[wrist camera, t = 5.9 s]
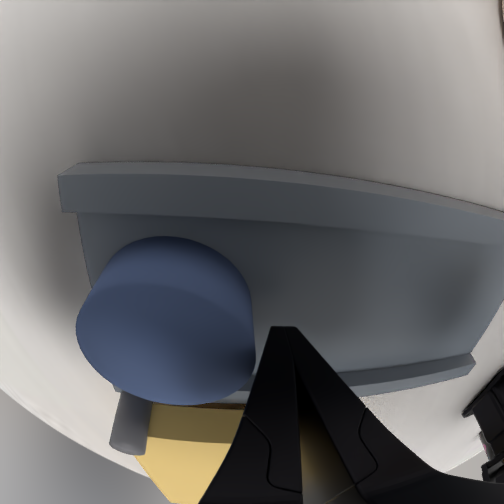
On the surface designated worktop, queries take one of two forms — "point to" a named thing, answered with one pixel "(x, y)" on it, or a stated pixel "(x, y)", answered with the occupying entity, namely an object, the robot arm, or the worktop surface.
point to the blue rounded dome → (170, 322)
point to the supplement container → (488, 448)
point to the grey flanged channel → (317, 259)
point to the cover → (174, 443)
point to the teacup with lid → (503, 8)
